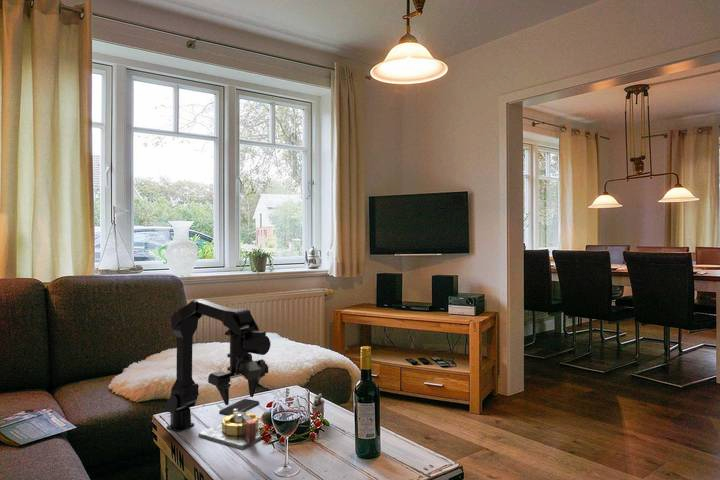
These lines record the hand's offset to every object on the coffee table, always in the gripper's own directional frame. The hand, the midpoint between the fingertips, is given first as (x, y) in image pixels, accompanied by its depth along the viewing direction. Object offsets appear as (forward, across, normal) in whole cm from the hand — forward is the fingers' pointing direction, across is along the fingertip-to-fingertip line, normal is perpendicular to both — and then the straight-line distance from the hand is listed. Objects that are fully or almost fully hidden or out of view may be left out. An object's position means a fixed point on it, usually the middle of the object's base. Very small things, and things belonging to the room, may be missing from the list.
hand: (239, 400), depth 150 cm
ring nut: (+12, +5, +4) cm, 14 cm away
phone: (+14, +19, +26) cm, 36 cm away
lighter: (+14, +26, -8) cm, 31 cm away
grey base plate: (+14, +6, +8) cm, 17 cm away
